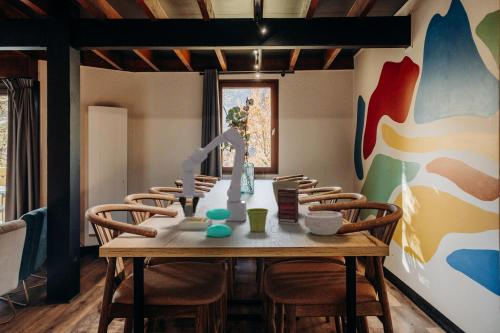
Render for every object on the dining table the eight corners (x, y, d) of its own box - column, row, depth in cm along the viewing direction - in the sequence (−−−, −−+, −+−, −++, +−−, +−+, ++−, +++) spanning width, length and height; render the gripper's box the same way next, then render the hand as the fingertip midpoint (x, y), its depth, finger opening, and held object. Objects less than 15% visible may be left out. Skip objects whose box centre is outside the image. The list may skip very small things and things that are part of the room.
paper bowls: (301, 229, 149) (300, 210, 148) (336, 228, 150) (336, 209, 149) (309, 238, 134) (309, 217, 133) (348, 237, 135) (348, 216, 134)
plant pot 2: (281, 208, 202) (281, 180, 202) (304, 210, 194) (304, 181, 193) (267, 211, 190) (266, 182, 189) (291, 214, 182) (291, 184, 181)
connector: (194, 215, 169) (194, 203, 169) (192, 217, 165) (192, 204, 165) (186, 215, 170) (186, 203, 169) (184, 217, 166) (184, 204, 166)
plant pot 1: (253, 234, 141) (252, 212, 141) (242, 229, 149) (242, 209, 149) (272, 231, 145) (272, 210, 145) (261, 227, 154) (261, 207, 153)
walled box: (212, 223, 162) (211, 217, 161) (206, 229, 150) (206, 222, 149) (186, 223, 163) (186, 217, 163) (178, 229, 151) (178, 222, 151)
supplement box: (298, 222, 161) (298, 188, 161) (295, 225, 157) (295, 189, 156) (281, 221, 165) (280, 187, 164) (277, 223, 161) (277, 189, 160)
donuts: (212, 207, 147) (234, 208, 143) (213, 231, 147) (235, 232, 144) (201, 211, 138) (224, 212, 134) (201, 236, 138) (225, 238, 135)
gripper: (171, 185, 164) (172, 214, 164) (201, 185, 162) (202, 214, 163) (175, 184, 171) (176, 211, 171) (205, 183, 169) (205, 211, 170)
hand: (189, 212), depth 168 cm, fingers closed on connector, 4 cm apart
